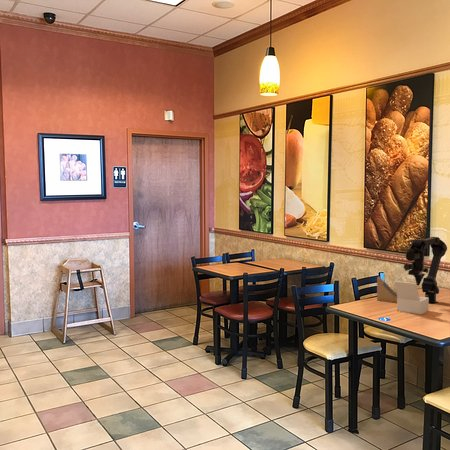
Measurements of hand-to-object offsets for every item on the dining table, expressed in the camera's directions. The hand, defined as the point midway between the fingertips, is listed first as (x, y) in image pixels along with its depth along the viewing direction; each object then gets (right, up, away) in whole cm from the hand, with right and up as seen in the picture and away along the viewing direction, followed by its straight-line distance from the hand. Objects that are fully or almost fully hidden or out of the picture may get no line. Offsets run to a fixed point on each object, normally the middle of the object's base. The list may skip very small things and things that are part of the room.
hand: (418, 285), depth 301 cm
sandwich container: (-11, -12, +18) cm, 25 cm away
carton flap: (-13, -1, -18) cm, 22 cm away
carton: (-7, -14, -10) cm, 19 cm away
